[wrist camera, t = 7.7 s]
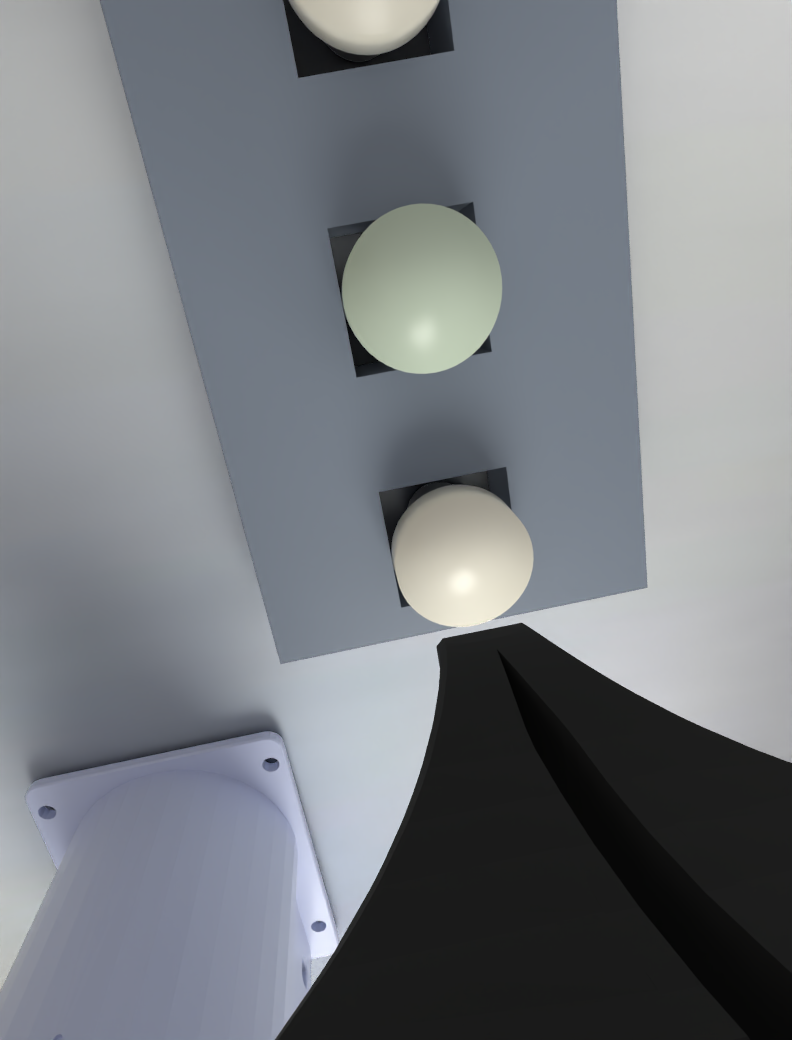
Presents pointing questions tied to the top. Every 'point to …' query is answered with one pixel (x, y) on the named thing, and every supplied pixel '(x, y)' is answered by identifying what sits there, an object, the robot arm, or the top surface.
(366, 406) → the console
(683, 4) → the top surface
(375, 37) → the knob
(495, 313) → the knob middle
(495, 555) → the knob
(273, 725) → the top surface
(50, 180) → the top surface
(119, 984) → the robot arm
